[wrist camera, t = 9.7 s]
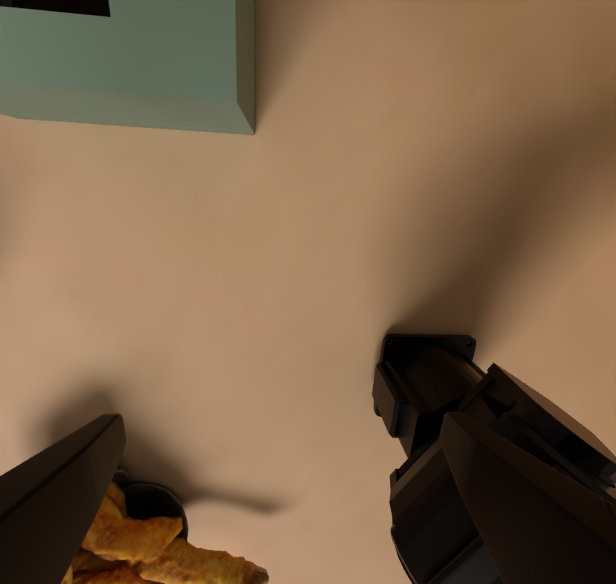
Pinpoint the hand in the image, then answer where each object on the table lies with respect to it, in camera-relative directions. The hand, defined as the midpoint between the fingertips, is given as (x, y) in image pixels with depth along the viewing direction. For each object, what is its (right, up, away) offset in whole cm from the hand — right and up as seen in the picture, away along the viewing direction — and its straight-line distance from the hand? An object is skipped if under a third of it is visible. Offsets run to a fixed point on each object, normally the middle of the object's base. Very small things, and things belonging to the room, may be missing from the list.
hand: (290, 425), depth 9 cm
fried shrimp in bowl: (-12, -13, +16) cm, 24 cm away
